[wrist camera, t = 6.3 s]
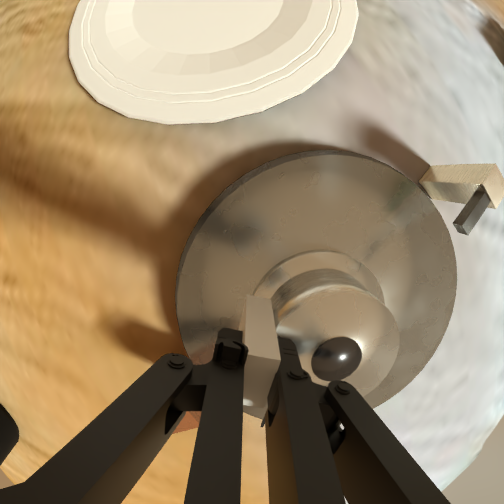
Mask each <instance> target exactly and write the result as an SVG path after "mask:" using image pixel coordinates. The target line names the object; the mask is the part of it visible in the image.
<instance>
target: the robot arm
mask: <svg viewBox="0 0 504 504" xmlns="http://www.w3.org/2000/svg"><path fill="white" fill-rule="evenodd" d="M266 402H267V403H268V408H267V410H266V413H265V416H264V418H263V421H262V423H261V427H263V426H264V424H265V428H266V447H267V466H268V486H269V504H346V503H345V499H344V497H345V498H346V500H347V502H348V503H349V504H450V502H449V501H448V500H447V499H446V497H445V496H444V495H443V494H442V493H441V491H440V490H439V489H438V488H437V487H436V485H435V484H434V483H433V482H432V481H431V479H430V478H429V477H428V476H427V475H426V473H425V472H424V471H423V470H422V469H421V467H420V466H419V465H418V464H417V463H416V461H415V460H414V459H413V458H412V456H411V455H410V454H409V453H408V452H407V450H406V449H405V448H404V447H403V446H402V444H401V443H400V442H399V441H398V440H397V438H396V437H395V436H394V435H393V433H392V432H391V431H390V430H389V429H388V427H387V426H386V425H385V424H384V423H383V421H382V420H381V419H380V418H379V416H378V415H377V414H376V413H375V412H374V410H373V409H372V408H371V407H370V405H369V404H368V403H367V402H366V401H365V399H364V398H363V397H362V396H361V394H360V393H359V392H358V391H357V390H356V388H355V387H354V386H352V385H351V384H349V383H348V382H346V381H342V380H334V381H331V382H330V383H329V384H328V386H327V387H326V386H323V385H319V384H317V383H314V382H312V380H311V376H310V375H309V373H308V372H306V371H305V370H304V369H302V367H301V363H300V359H299V356H298V352H297V348H296V345H295V344H294V342H293V341H292V340H291V339H286V338H281V337H277V333H276V327H275V321H274V315H273V309H272V304H271V299H267V298H262V297H257V296H252V295H246V300H245V304H244V308H243V312H242V316H241V321H240V325H239V329H238V330H235V329H230V328H225V327H223V328H222V329H220V330H219V331H218V336H217V340H216V344H215V348H214V353H213V358H212V360H211V361H210V362H208V363H206V364H202V365H193V363H192V361H191V360H190V359H189V358H188V357H186V356H184V355H181V354H175V353H170V354H165V355H164V356H162V357H161V358H160V359H159V360H158V361H156V362H155V363H154V364H153V365H152V366H151V367H150V368H149V369H148V370H147V371H146V372H145V373H144V374H143V375H142V376H140V377H139V378H138V379H137V380H136V381H135V382H134V383H133V384H132V385H131V386H130V387H129V388H128V389H127V390H125V391H124V392H123V393H122V394H121V395H120V396H119V397H118V398H117V399H116V400H115V401H114V402H112V403H111V404H110V405H109V406H108V407H107V408H106V409H105V410H104V411H103V412H102V413H100V414H99V415H98V416H97V417H96V418H95V419H94V420H93V421H92V422H91V423H90V424H88V425H87V426H86V427H85V428H84V429H83V430H82V431H81V432H80V433H79V434H77V435H76V436H75V437H74V438H73V439H72V440H71V441H70V442H69V443H68V444H66V445H65V446H64V447H63V448H62V449H61V450H60V451H59V452H58V453H56V454H55V455H54V456H53V457H52V458H51V459H50V460H49V461H48V462H46V463H45V464H44V465H43V466H42V467H41V468H40V469H39V470H37V471H36V472H35V473H34V474H33V475H32V476H31V477H29V478H28V479H27V480H26V481H25V482H23V483H20V484H17V485H14V486H10V487H7V488H3V489H0V504H121V503H122V501H123V500H124V499H125V497H126V496H127V495H128V493H129V492H130V491H131V489H132V488H133V487H134V485H135V484H136V483H137V481H138V480H139V479H140V477H141V476H142V475H143V473H144V472H145V471H146V469H147V468H148V466H149V465H150V464H151V462H152V461H153V460H154V458H155V457H156V455H157V454H158V453H159V451H160V450H161V449H162V447H163V446H164V444H165V443H166V442H167V440H168V439H169V437H170V436H171V435H172V433H173V432H174V430H175V429H176V427H177V426H178V425H179V423H180V422H181V420H182V419H183V417H184V416H185V414H186V411H202V412H201V417H200V422H199V427H198V432H197V437H196V442H195V447H194V452H193V457H192V463H191V468H190V473H189V478H188V484H187V489H186V495H185V500H184V504H240V492H241V457H242V423H243V405H247V406H253V407H260V408H264V407H265V405H266ZM341 423H342V425H343V426H344V430H342V429H341V428H340V424H341Z"/></svg>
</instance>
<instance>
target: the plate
mask: <svg viewBox="0 0 504 504" xmlns="http://www.w3.org/2000/svg"><path fill="white" fill-rule="evenodd" d="M358 15H359V14H358V8H357V1H356V0H80V2H79V3H78V5H77V8H76V10H75V13H74V17H73V20H72V23H71V26H70V30H69V59H70V61H71V64H72V67H73V69H74V72H75V74H76V77H77V79H78V82H79V83H80V84H81V85H82V86H83V87H84V88H85V89H86V90H87V91H88V92H89V93H90V94H91V96H92V97H93V98H94V99H95V100H96V101H97V102H98V103H100V104H102V105H104V106H107V107H109V108H111V109H113V110H115V111H117V112H119V113H121V114H123V115H125V116H127V117H129V118H134V119H140V120H145V121H151V122H156V123H161V124H166V125H177V124H201V123H217V122H221V121H225V120H229V119H233V118H238V117H242V116H246V115H251V114H255V113H260V112H263V111H265V110H267V109H269V108H271V107H273V106H276V105H278V104H280V103H282V102H284V101H286V100H289V99H291V98H293V97H296V96H298V95H300V94H302V93H304V92H305V91H306V90H307V89H309V88H310V87H311V86H312V85H314V84H315V83H316V82H317V81H319V80H320V79H321V78H323V77H324V76H325V75H327V74H328V73H329V72H330V71H332V70H333V69H334V68H335V66H336V65H337V63H338V62H339V60H340V59H341V58H342V56H343V55H344V53H345V52H346V50H347V49H348V47H349V46H350V45H351V43H352V41H353V37H354V33H355V28H356V24H357V20H358Z"/></svg>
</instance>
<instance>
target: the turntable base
mask: <svg viewBox="0 0 504 504" xmlns="http://www.w3.org/2000/svg"><path fill="white" fill-rule="evenodd" d="M322 155H344V156H353V157H358V158H363V159H368V160H371V161H374V162H377V163H379V164H382V165H385V166H387V167H389V168H391V169H393V170H395V169H394V168H392V167H390V166H389V165H387V164H385V163H383V162H380V161H378V160H376V159H373V158H371V157H368V156H364V155H361V154H357V153H353V152H346V151H337V150H316V151H306V152H301V153H296V154H291V155H287V156H284V157H281V158H278V159H275V160H273V161H270V162H267V163H265V164H263V165H261V166H259V167H257V168H256V169H254V170H252V171H250V172H248V173H246V174H245V175H244V176H242V177H241V178H239V179H238V180H237V181H235V182H234V183H233V184H231V185H230V186H229V187H227V188H226V189H225V190H224V191H223V192H222V193H221V194H220V195H219V196H218V197H217V198H216V199H215V200H214V201H213V202H212V203H211V205H210V206H209V207H208V208H207V210H206V211H205V212H204V214H203V215H202V216H201V218H200V219H199V220H198V222H197V224H196V226H195V227H194V229H193V231H192V233H191V235H190V236H189V238H188V241H187V243H186V246H185V248H184V251H183V254H182V256H181V260H180V264H179V268H178V273H177V277H176V290H175V303H176V316H177V292H178V286H179V280H180V274H181V271H182V268H183V265H184V262H185V258H186V255H187V253H188V251H189V249H190V247H191V245H192V243H193V241H194V239H195V237H196V235H197V233H198V232H199V230H200V229H201V227H202V226H203V224H204V223H205V221H206V220H207V218H208V217H209V216H210V214H211V213H212V212H213V211H214V210H215V209H216V208H217V207H218V206H219V205H220V204H221V202H222V201H223V200H224V199H225V198H226V197H228V196H229V195H230V194H231V193H233V192H234V191H235V190H236V189H237V188H239V187H240V186H241V185H242V184H244V183H245V182H247V181H249V180H250V179H252V178H254V177H255V176H257V175H259V174H260V173H262V172H264V171H266V170H269V169H271V168H273V167H276V166H278V165H280V164H283V163H286V162H289V161H293V160H297V159H301V158H305V157H312V156H322ZM395 171H397V170H395ZM397 172H398V171H397ZM398 173H400V172H398ZM400 174H401V173H400ZM402 175H403V174H402ZM406 178H407V177H406ZM418 182H419V183H420V184H421V185H422V187H423V188H424V189H425V191H426V192H427V194H428V195H429V196H430V198H431V199H434V200H442V201H449V202H456V203H463V204H466V205H465V207H464V208H463V210H462V211H461V212H460V214H459V215H458V217H457V218H456V219H455V221H454V222H453V225H454V226H455V228H456V229H457V231H458V232H459V233H462V234H465V235H469V233H470V232H471V230H472V229H473V227H474V226H475V224H476V223H477V222H478V220H479V219H480V217H481V216H482V214H483V213H484V211H485V209H486V208H487V207H488V208H493V209H496V208H497V207H498V205H499V203H500V202H501V200H502V198H503V196H504V178H503V176H502V174H501V173H500V171H499V169H498V167H497V165H496V164H457V165H436V166H430V168H429V169H428V170H427V172H426V173H425V174H424V175H423V177H422V178H421V179H420V180H419V181H418ZM177 320H178V316H177ZM178 325H179V323H178Z"/></svg>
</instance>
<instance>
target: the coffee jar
mask: <svg viewBox="0 0 504 504" xmlns="http://www.w3.org/2000/svg"><path fill="white" fill-rule="evenodd" d="M18 439H19V430H18V427H17V425H16V423H15V421H14V420H13V418H12V417H11V416H10V414H9V413H8V412H7V411H6V409H5V408H4V407H3V406H2V405H1V404H0V465H1V464H2V463H3V461H4V460H5V458H6V457H7V456H8V454H9V453H10V451H11V450H12V449H13V447H14V446H15V445H16V443H17V442H18Z"/></svg>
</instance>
